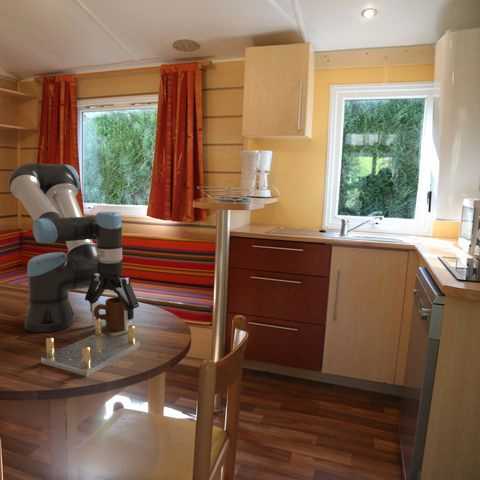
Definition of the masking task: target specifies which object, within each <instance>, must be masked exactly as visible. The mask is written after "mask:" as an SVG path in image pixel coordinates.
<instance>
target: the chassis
mask: <svg viewBox="0 0 480 480" xmlns="http://www.w3.org/2000/svg"><path fill="white" fill-rule="evenodd" d="M94 321H95V323H94V334H91V335H89V336H86V337H85V338H83V339H80V340H78V341H76V342H74V343H71V344H69V345H67V346H65V347H63V348H59V349H58V350H56V351H55V342H54V341H55V339H54V336H50V337H48V336H47V337H46V338H45V347H46V349H45V350H46V355H44V356H42V357H41V358H40V359H41V360H40V361H41V362H40V363H41V364H43V365H46V366H49V367H52V368H53V367H54V368H56V369H59V370H60V369H61V370H64V371H67V372H70V373H73V374H77V375H81V376H83V377H84V376H85V377H89V376H91V375H92V374H94V373H96V372H99V370H101V369H104V368H105V367H107V366H109V365H111V364H112V363H114V362H115V361H118V360H120V359H121V358H123V357H125V356H126V355H128V354H131V353H132V352H133V350H134V351H135V350H137V349H139V348H140V347H141V341H137V340H136V326H135V325H134V324H132V325H130V326H128V330H127V333H128V336H127V337H128V338H124V337H119V336H115V335H111V334H106V333H102V320H101V318H96V319H94Z"/></svg>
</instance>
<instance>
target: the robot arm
mask: <svg viewBox="0 0 480 480" xmlns="http://www.w3.org/2000/svg"><path fill="white" fill-rule="evenodd" d="M7 184H8V185H7V186H8V189H9V191H10V192H11V194H12V195H13V196H14V197H15V198H16V199H19V200H20V202H21V203H22V205H23V207H24V209H26V211H27V212H28V214H29V216H30V217H31V219H32V220H33V223H32V233H33V234H32V235H33V237H34V239H35V242H37V243H39V244H54V243H63V242H65V243H66V246H67V249H68V251H67V253H65V252H63V251H59V252H57V251H55V252H48V253H43V254H39V255H36V256H34V257H32V258H30V259H29V260H28V262H27V267H26V268H27V271H26V277H27V283H28V285H27V286H28V287H27V289H28V300H29V301H28V308H27V311H26V315H25V318H24V320H23V322H24V329H25V330H26V331H28V332H31V333H32V332H33V333H49V332H56V331H61V330H64V329H66V328H69V327H71V326H73V325H74V324H75V323H76V315H75V312H74V311H73V307H72V304H71V302H70V300H69V291H75V290H80V289H81V290H82V289H86V288H87V292H86V295H85V297H84V300H85V301H86V302H89V304H90V305H89V306H90V307H89V308H90V313H91V323H92V324H95V321H94V319H96V317H95V316H94V308H95V307H96V306H97V305H99V304H100V300H99V299H100V298H101V296H102V295H103V293H104V292H105V291H108V290H109V291H111V292H114V293H115V294H116V295H117V297H119V298H120V300H121V301H122V303H123V305H124V306H125V308H126V310H124V322H125V330H124V331H128V326H130V325H133V319H134V315H135V313H134V309H136V308H139V307H140V304H139V302H138V299H137V295H136V294H135V291H134V290H133V286H132V283H131V278H130V277H129V276H127V277H122V273H123V272H124V271H123V270H124V268H123V267H124V266H123V265H124V264H123V261H122V260H123V230H122V228H123V223H122V216H121V213H120V212H118V211H98V212H97V213H96V215H94V214H93V215H92V214H91V215H86V216H83V212H82V210H81V208H80V205H79V202H78V200H77V195H78V193H79V191H80V187H81V182H80V176H79V173H78V171H77V170H76V168H74V166H72V165H70V164H63V163H58V164H54V163H53V164H52V163H35V162H29V163H23V164H21V165H19V166H16V168H15V169H13V170H12V171H11V173H10V174H9V177H8V180H7ZM93 240H96V243H95V242H93ZM100 310H101V309H100ZM100 310H99V314H100V315H101V313H100Z"/></svg>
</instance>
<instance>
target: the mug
mask: <svg viewBox="0 0 480 480" xmlns="http://www.w3.org/2000/svg"><path fill="white" fill-rule="evenodd" d="M99 310H104V311H105V313H104V314H103V313H102V314H101V313H100V314H99ZM124 310H126V308H125V306H124V305H123V303H122V301H121V300H120V298H119V297H118V296H113V297H109V298H106V299H105V304H104V303H99V305H97V306H96V307H95V308H94V316H95V317H96V318H101V321H103V320H104V321H105V328H106V329H107V330H108V331H109V332H110V331H111V332H121V331H126V330H125V322H124Z"/></svg>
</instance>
